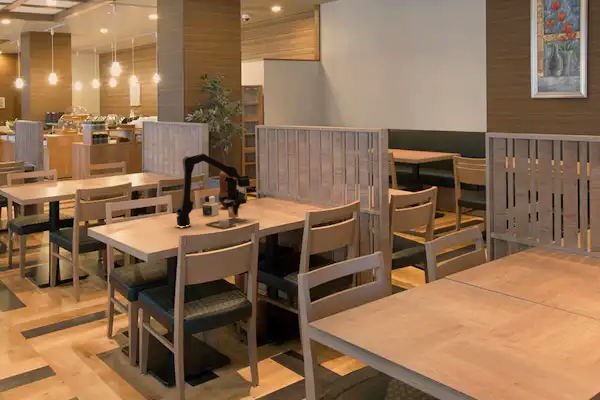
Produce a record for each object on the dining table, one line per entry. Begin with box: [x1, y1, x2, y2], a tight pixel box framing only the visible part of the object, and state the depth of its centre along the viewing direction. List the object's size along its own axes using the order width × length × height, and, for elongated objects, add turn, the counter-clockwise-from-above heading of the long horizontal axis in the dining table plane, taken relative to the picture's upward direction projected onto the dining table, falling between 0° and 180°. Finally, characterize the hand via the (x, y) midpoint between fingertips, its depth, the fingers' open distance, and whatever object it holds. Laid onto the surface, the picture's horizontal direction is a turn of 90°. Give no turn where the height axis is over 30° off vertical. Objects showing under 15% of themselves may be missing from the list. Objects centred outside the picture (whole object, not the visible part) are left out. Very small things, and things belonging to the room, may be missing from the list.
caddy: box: [205, 220, 237, 230], centre depth 338 cm, size 9×17×1 cm, turn 45°
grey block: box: [218, 218, 229, 227], centre depth 336 cm, size 4×4×4 cm
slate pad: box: [227, 217, 247, 224], centre depth 350 cm, size 10×10×1 cm
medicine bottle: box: [201, 195, 220, 217], centre depth 370 cm, size 7×7×12 cm
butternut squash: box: [218, 170, 238, 208], centre depth 390 cm, size 14×13×25 cm
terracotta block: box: [227, 206, 239, 219], centre depth 349 cm, size 4×4×6 cm
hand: (233, 214), depth 350 cm, fingers closed on terracotta block, 4 cm apart
